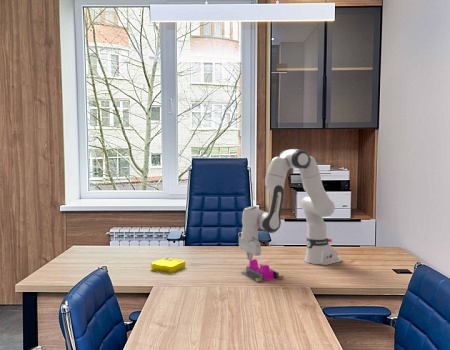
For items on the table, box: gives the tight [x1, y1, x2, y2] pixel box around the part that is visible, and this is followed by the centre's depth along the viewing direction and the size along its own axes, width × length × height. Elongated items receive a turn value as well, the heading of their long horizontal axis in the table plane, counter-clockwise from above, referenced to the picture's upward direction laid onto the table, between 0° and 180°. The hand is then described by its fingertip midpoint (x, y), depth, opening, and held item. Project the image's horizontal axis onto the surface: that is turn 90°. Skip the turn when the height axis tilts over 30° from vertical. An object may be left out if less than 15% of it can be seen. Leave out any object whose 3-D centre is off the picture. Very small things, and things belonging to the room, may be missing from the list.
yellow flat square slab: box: [150, 257, 186, 274], centre depth 266 cm, size 15×15×5 cm
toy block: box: [248, 258, 274, 281], centre depth 251 cm, size 15×6×8 cm, turn 25°
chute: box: [240, 263, 284, 283], centre depth 251 cm, size 16×18×4 cm
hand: (249, 259), depth 264 cm, fingers closed
